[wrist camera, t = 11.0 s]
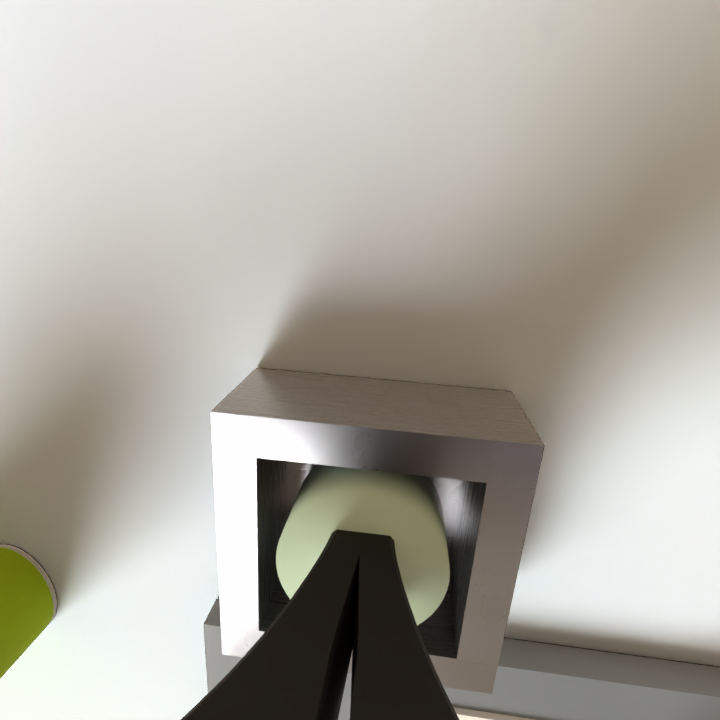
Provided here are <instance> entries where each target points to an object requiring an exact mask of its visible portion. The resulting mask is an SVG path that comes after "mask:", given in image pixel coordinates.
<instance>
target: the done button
mask: <svg viewBox="0 0 720 720" xmlns="http://www.w3.org/2000/svg"><path fill="white" fill-rule="evenodd" d="M337 529H338V530H346V531H354V532H362V533H371V534H379V535H388V536H391V537H392V539H393V540H394V544H395V551H396V557H397V562H398V566H399V570H400V574H401V578H402V582H403V585H404V588H405V592H406V595H407V598H408V601H409V604H410V607H411V610H412V612H413V615H414V618H415V621H416V624H417V625H419V624H420V623H422V622H423V621H425V620H426V619H427V618H428V617H430V616H431V615H432V614H433V613H434V612H435V610H436V609H437V608H438V607H439V605H440V604H441V602H442V601H443V599H444V597H445V594H446V592H447V589H448V585H449V579H450V566H449V557H448V549H447V541H446V533H445V525H444V517H443V508H442V504H441V500H440V497H439V494H438V492H437V490H436V488H435V486H434V485H433V483H432V482H431V480H430V479H429V478H428V477H427V476H419V475H410V474H401V473H391V472H382V471H373V470H364V469H355V468H345V467H336V466H327V465H317V466H316V467H314V468H313V469H312V470H311V472H310V473H309V474H308V475H307V476H306V478H305V480H304V481H303V483H302V485H301V487H300V490H299V492H298V495H297V497H296V500H295V502H294V505H293V507H292V510H291V512H290V515H289V517H288V519H287V522H286V524H285V527H284V529H283V532H282V534H281V537H280V539H279V542H278V546H277V551H276V568H277V572H278V577H279V579H280V582H281V585H282V587H283V589H284V590H285V592H286V594H287V595H288V597H289V598H290V599H291V598H292V597H293V595H294V594H295V592H296V591H297V589H298V588H299V587H300V585H301V584H302V582H303V581H304V579H305V578H306V576H307V575H308V574H309V572H310V571H311V569H312V567H313V566H314V564H315V563H316V561H317V559H318V558H319V556H320V554H321V553H322V551H323V549H324V548H325V546H326V544H327V542H328V540H329V538H330V536H331V534H332V532H334V531H335V530H337Z"/></svg>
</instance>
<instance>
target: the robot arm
mask: <svg viewBox="0 0 720 720" xmlns="http://www.w3.org/2000/svg"><path fill="white" fill-rule="evenodd" d="M352 649H353V650H352ZM351 654H352V676H351V703H350V720H459V718H458V716H457V714H456V712H455V710H454V708H453V706H452V704H451V702H450V700H449V698H448V696H447V694H446V692H445V690H444V688H443V685H442V683H441V681H440V679H439V677H438V675H437V672H436V670H435V668H434V666H433V663H432V661H431V659H430V656H429V654H428V651H427V649H426V647H425V644H424V642H423V639H422V637H421V634H420V632H419V629H418V626H417V624H416V621H415V618H414V615H413V612H412V610H411V607H410V604H409V601H408V598H407V595H406V592H405V588H404V585H403V582H402V578H401V574H400V570H399V566H398V562H397V557H396V551H395V544H394V540H393V539H392V537H391V536H388V535H379V534H371V533H362V532H354V531H346V530H338V529H337V530H335V531H334V532H332V534H331V536H330V538H329V540H328V542H327V544H326V546H325V548H324V549H323V551H322V553H321V554H320V556H319V558H318V559H317V561H316V563H315V564H314V566H313V567H312V569H311V571H310V572H309V574H308V575H307V576H306V578H305V579H304V581H303V582H302V584H301V585H300V587H299V588H298V589H297V591H296V592H295V594H294V595H293V597H292V598H291V599H290V601H289V602H288V603H287V605H286V606H285V607H284V608H283V610H282V611H281V612H280V613H279V615H278V616H277V617H276V619H275V620H274V621H273V622H272V624H271V625H270V626H269V627H268V629H267V630H266V631H265V632H264V634H263V635H262V636H261V637H260V638H259V640H258V641H257V642H256V643H255V644H254V645H253V647H252V648H251V649H250V650H249V651H248V652H247V653H246V654H245V656H244V657H243V658H242V659H241V660H240V661H239V662H238V663H237V664H236V665H235V666H234V667H233V669H232V670H231V671H230V672H229V673H228V674H227V675H226V676H225V677H224V678H223V679H222V680H221V681H220V682H219V683H218V684H217V685H216V686H215V687H214V688H213V689H212V690H211V691H210V692H209V693H208V694H207V695H206V696H205V697H204V698H203V699H202V700H201V701H200V702H199V703H198V704H197V705H196V706H195V707H194V708H193V709H192V710H191V711H190V712H189V713H188V714H186V715H185V716H184V717H183V718H182V719H181V720H338V717H339V712H340V707H341V702H342V698H343V693H344V688H345V683H346V678H347V674H348V669H349V664H350V659H351Z"/></svg>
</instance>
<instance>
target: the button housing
mask: <svg viewBox="0 0 720 720" xmlns="http://www.w3.org/2000/svg"><path fill="white" fill-rule="evenodd" d="M210 413H211V434H212V455H213V475H214V496H215V517H216V538H217V558H218V579H219V600H220V620H221V641H222V654H223V655H230V656H236V657H244V656H245V654H246V653H247V652H248V651H249V650H250V649H251V648H252V647H253V645H254V644H255V643H256V642H257V641H258V640H259V638H260V637H261V636H262V635H263V634H264V632H265V631H266V630H267V629H268V627H269V626H270V625H271V624H272V622H273V621H274V620H275V619H276V617H277V616H278V615H279V613H280V612H281V611H282V610H283V608H284V607H285V606H286V605H287V603H288V602H289V601H290V598H289V597H288V595H287V594H286V592H285V590H284V589H283V587H282V585H281V582H280V579H279V577H278V572H277V568H276V551H277V546H278V542H279V539H280V537H281V534H282V532H283V529H284V527H285V524H286V522H287V519H288V517H289V515H290V512H291V510H292V507H293V505H294V502H295V500H296V497H297V495H298V492H299V490H300V487H301V485H302V483H303V481H304V480H305V478H306V476H307V475H308V474H309V473H310V472H311V470H312V469H313V468H314V467H316V466H317V465H327V466H336V467H345V468H355V469H364V470H373V471H382V472H391V473H401V474H410V475H419V476H427V477H428V478H429V479H430V480H431V482H432V483H433V485H434V486H435V488H436V490H437V492H438V494H439V497H440V500H441V504H442V508H443V517H444V525H445V533H446V541H447V549H448V557H449V566H450V579H449V585H448V589H447V592H446V594H445V597H444V599H443V601H442V602H441V604H440V605H439V607H438V608H437V609H436V610H435V612H434V613H433V614H432V615H431V616H430V617H428V618H427V619H426V620H425V621H423V622H422V623H420V624H419V625H417V626H418V629H419V632H420V634H421V637H422V639H423V642H424V644H425V647H426V649H427V651H428V654H429V656H430V659H431V661H432V663H433V666H434V668H435V670H436V672H437V675H438V677H439V679H440V681H441V683H442V685H443V687H448V688H454V689H461V690H468V691H475V692H482V693H488V694H492V691H493V686H494V682H495V677H496V672H497V668H498V663H499V658H500V653H501V649H502V644H503V639H504V634H505V630H506V625H507V620H508V616H509V611H510V606H511V601H512V597H513V592H514V587H515V582H516V578H517V573H518V568H519V564H520V559H521V554H522V549H523V545H524V540H525V535H526V530H527V526H528V521H529V516H530V512H531V507H532V502H533V497H534V493H535V488H536V483H537V478H538V474H539V469H540V464H541V460H542V455H543V450H544V444H543V442H542V441H541V439H540V438H539V436H538V434H537V433H536V431H535V429H534V428H533V426H532V425H531V423H530V421H529V420H528V418H527V416H526V415H525V413H524V412H523V410H522V408H521V407H520V405H519V403H518V402H517V400H516V399H515V397H514V395H513V394H512V392H511V391H501V390H490V389H480V388H469V387H458V386H447V385H436V384H425V383H414V382H404V381H393V380H382V379H371V378H360V377H349V376H338V375H328V374H317V373H306V372H295V371H284V370H273V369H262V368H256V369H255V370H254V371H252V372H251V373H250V374H249V375H248V376H247V377H246V378H245V379H244V380H243V381H242V382H241V383H240V384H239V385H238V386H237V387H236V388H235V389H234V390H233V391H232V392H231V393H230V394H228V395H227V396H226V397H225V398H224V399H223V400H222V401H221V402H220V403H219V404H218V405H217V406H216V407H215V408H214V409H213V410H212V411H211V412H210ZM352 650H353V649H352ZM348 673H352V654H351V659H350V664H349V669H348Z"/></svg>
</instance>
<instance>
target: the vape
mask: <svg viewBox="0 0 720 720" xmlns="http://www.w3.org/2000/svg"><path fill="white" fill-rule="evenodd" d="M56 610H57V599H56V594H55V590H54V587H53V585H52V583H51V581H50V579H49V577H48V575H47V574H46V572H45V571H44V569H43V568H42V567H41V566H40V564H39V563H38V562H37V561H36V560H35V559H34V558H32V557H31V556H30V555H29V554H27V553H26V552H24V551H23V550H21V549H19V548H17V547H15V546H12V545H7V544H3V545H0V678H1V677H2V676H3V675H4V674H5V672H6V671H7V670H8V669H9V668H10V667H11V666H12V665H13V664H14V662H15V661H16V660H17V659H18V658H19V657H20V656H21V655H22V653H23V652H24V651H25V650H26V649H27V648H28V647H29V646H30V645H31V643H32V642H33V641H34V640H35V639H36V638H37V637H38V636H39V634H40V633H41V632H42V631H43V630H44V629H45V628H46V627H47V625H48V624H49V623H50V622H51V621H52V620H53V618H54V617H55V614H56Z"/></svg>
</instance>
